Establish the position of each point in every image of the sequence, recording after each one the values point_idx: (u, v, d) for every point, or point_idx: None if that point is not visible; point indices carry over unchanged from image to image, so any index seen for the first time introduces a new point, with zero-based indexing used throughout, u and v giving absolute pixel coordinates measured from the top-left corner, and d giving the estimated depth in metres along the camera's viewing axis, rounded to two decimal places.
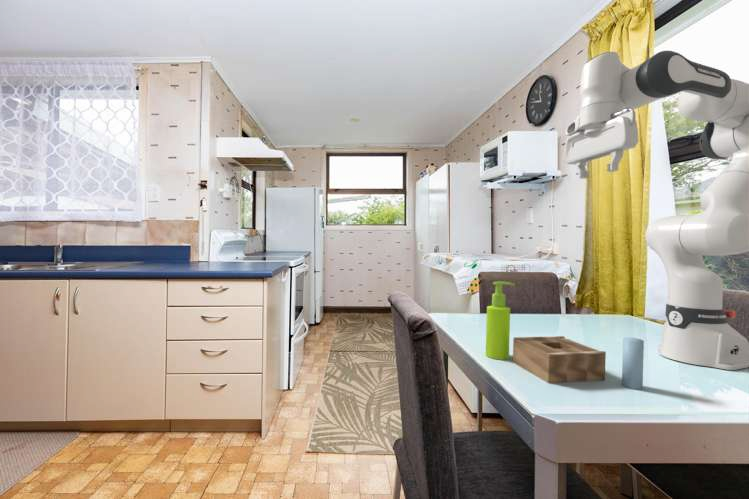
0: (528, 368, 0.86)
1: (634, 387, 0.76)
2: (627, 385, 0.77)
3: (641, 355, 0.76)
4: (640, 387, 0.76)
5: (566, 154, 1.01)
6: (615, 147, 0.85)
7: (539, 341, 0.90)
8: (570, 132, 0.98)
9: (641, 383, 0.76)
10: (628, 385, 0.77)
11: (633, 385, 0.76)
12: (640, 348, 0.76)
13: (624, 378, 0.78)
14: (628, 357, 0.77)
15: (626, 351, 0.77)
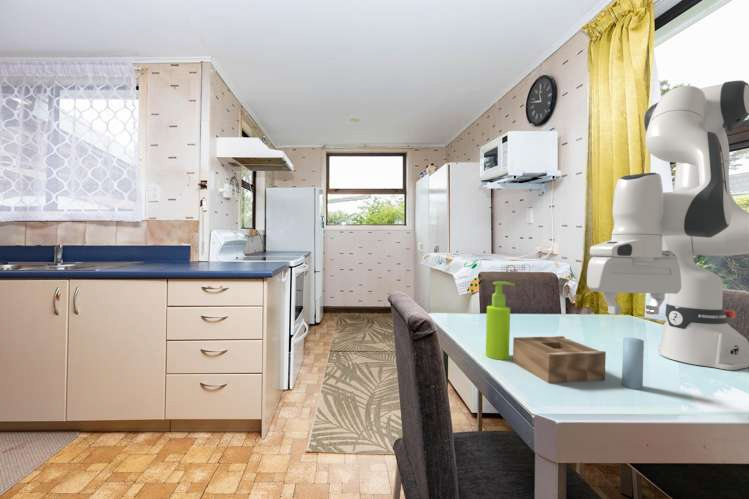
0: (528, 368, 0.86)
1: (634, 387, 0.76)
2: (627, 385, 0.77)
3: (641, 355, 0.76)
4: (640, 387, 0.76)
5: (604, 280, 0.74)
6: (670, 292, 0.77)
7: (539, 341, 0.90)
8: (623, 255, 0.73)
9: (641, 383, 0.76)
10: (628, 385, 0.77)
11: (633, 385, 0.76)
12: (640, 348, 0.76)
13: (624, 378, 0.78)
14: (628, 357, 0.77)
15: (626, 351, 0.77)
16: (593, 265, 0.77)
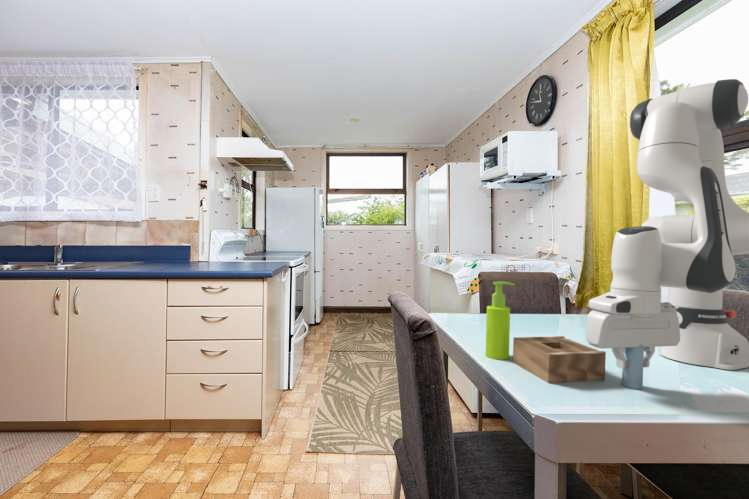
0: (528, 368, 0.86)
1: (634, 387, 0.76)
2: (627, 385, 0.77)
3: (641, 355, 0.76)
4: (640, 387, 0.76)
5: (603, 336, 0.74)
6: (669, 345, 0.77)
7: (539, 341, 0.90)
8: (621, 312, 0.74)
9: (641, 383, 0.76)
10: (628, 385, 0.77)
11: (633, 385, 0.76)
12: (640, 348, 0.76)
13: (624, 378, 0.78)
14: (628, 357, 0.77)
15: (626, 351, 0.77)
16: (592, 319, 0.77)
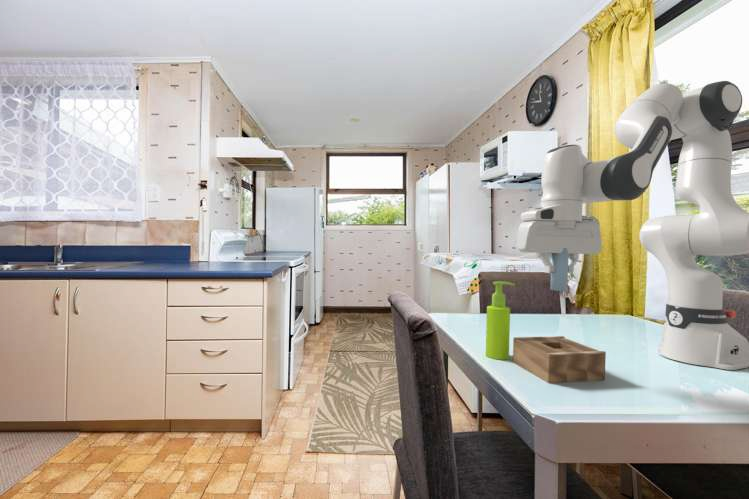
0: (528, 368, 0.86)
1: (559, 289, 0.85)
2: (553, 288, 0.86)
3: (565, 260, 0.85)
4: (564, 289, 0.85)
5: (530, 241, 0.83)
6: (591, 252, 0.86)
7: (539, 341, 0.90)
8: (545, 218, 0.82)
9: (565, 285, 0.85)
10: (554, 288, 0.86)
11: (558, 287, 0.85)
12: (564, 253, 0.85)
13: (551, 282, 0.86)
14: (554, 263, 0.86)
15: (553, 257, 0.86)
16: (522, 228, 0.85)
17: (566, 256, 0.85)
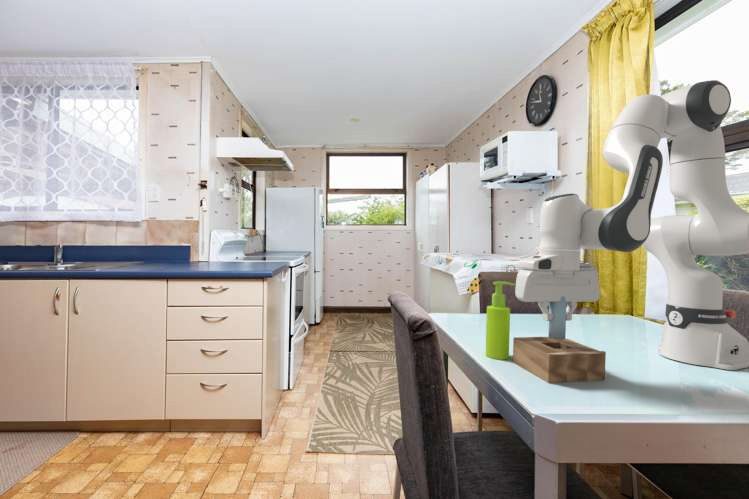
0: (528, 368, 0.86)
1: (557, 337, 0.85)
2: (551, 336, 0.86)
3: (563, 308, 0.85)
4: (562, 337, 0.85)
5: (528, 291, 0.83)
6: (589, 300, 0.86)
7: (539, 341, 0.90)
8: (543, 269, 0.83)
9: (563, 334, 0.85)
10: (552, 336, 0.86)
11: (556, 335, 0.85)
12: (562, 302, 0.85)
13: (549, 330, 0.87)
14: (552, 311, 0.86)
15: (551, 305, 0.86)
16: (520, 277, 0.86)
17: (564, 305, 0.85)
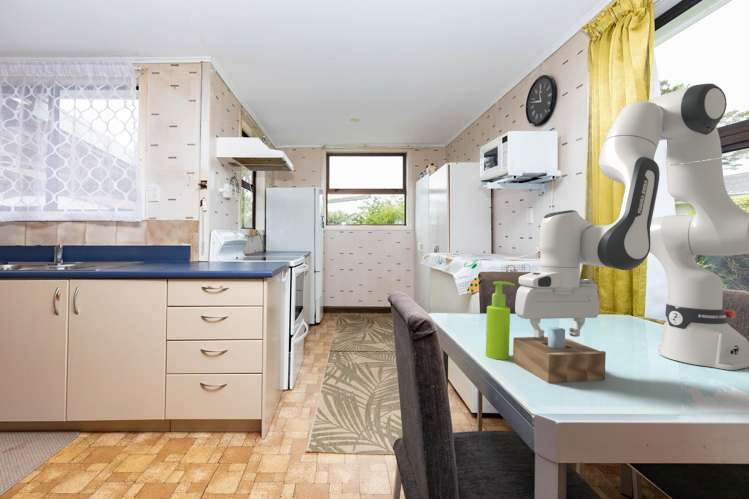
0: (528, 368, 0.86)
1: None
2: None
3: (562, 342, 0.85)
4: None
5: (527, 308, 0.83)
6: (589, 316, 0.86)
7: (539, 341, 0.90)
8: (543, 286, 0.83)
9: None
10: None
11: None
12: (561, 336, 0.85)
13: None
14: (551, 344, 0.86)
15: (550, 339, 0.86)
16: (519, 294, 0.86)
17: (562, 338, 0.85)
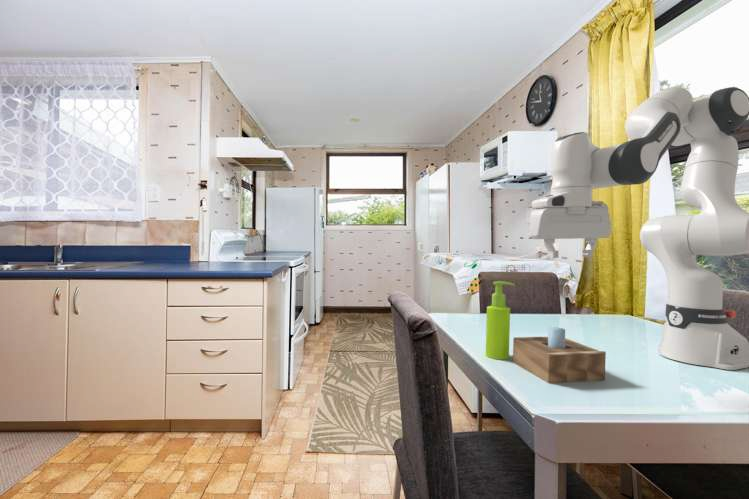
0: (528, 368, 0.86)
1: None
2: None
3: (562, 342, 0.85)
4: None
5: (542, 228, 0.86)
6: (601, 236, 0.89)
7: (539, 341, 0.90)
8: (557, 205, 0.85)
9: None
10: None
11: None
12: (561, 336, 0.85)
13: None
14: (551, 344, 0.86)
15: (550, 339, 0.86)
16: (533, 216, 0.88)
17: (563, 338, 0.85)
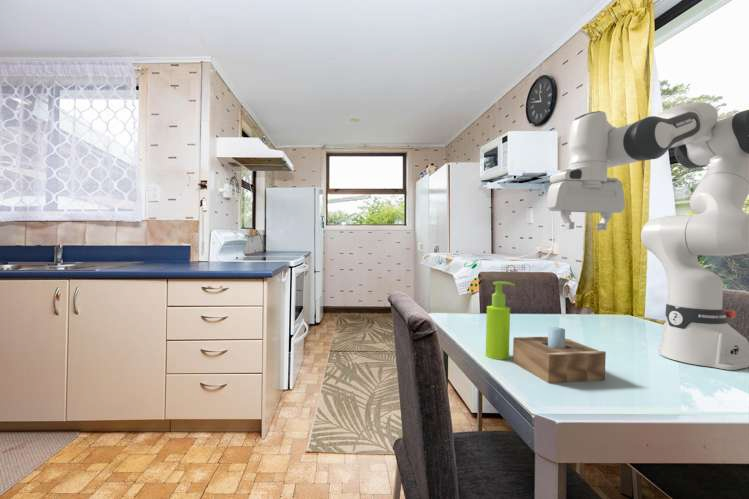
0: (528, 368, 0.86)
1: None
2: None
3: (562, 342, 0.85)
4: None
5: (560, 199, 0.91)
6: (615, 210, 0.94)
7: (539, 341, 0.90)
8: (574, 178, 0.90)
9: None
10: None
11: None
12: (560, 336, 0.85)
13: None
14: (551, 344, 0.86)
15: (550, 339, 0.86)
16: (551, 189, 0.93)
17: (562, 338, 0.85)
